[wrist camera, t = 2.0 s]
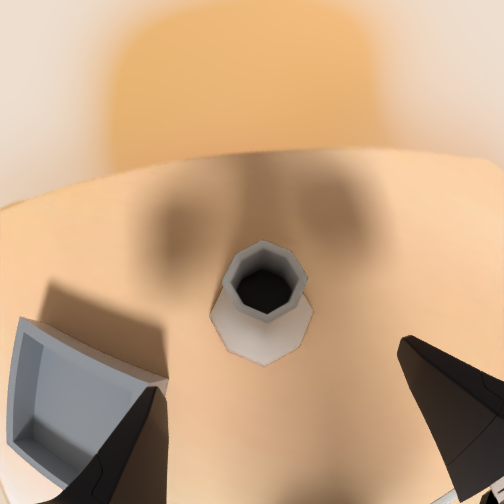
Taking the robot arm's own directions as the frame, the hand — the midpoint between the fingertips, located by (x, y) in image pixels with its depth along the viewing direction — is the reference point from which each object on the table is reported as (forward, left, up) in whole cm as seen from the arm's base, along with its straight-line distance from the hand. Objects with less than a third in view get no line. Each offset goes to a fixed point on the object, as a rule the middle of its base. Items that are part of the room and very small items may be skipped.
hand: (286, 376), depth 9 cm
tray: (-10, +14, -11) cm, 20 cm away
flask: (+3, +2, -11) cm, 11 cm away
